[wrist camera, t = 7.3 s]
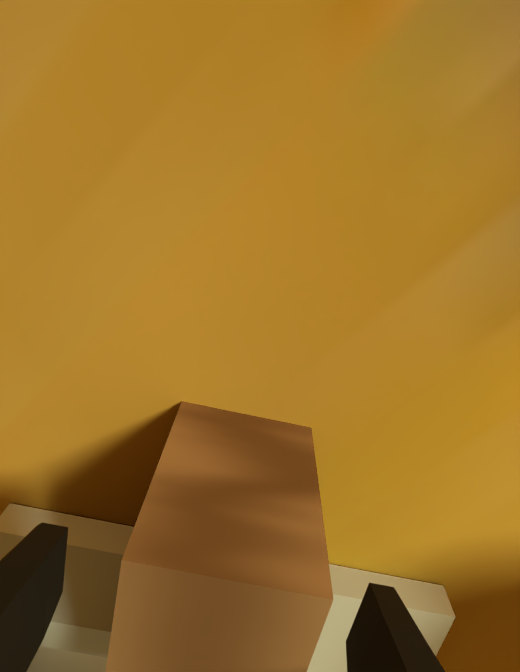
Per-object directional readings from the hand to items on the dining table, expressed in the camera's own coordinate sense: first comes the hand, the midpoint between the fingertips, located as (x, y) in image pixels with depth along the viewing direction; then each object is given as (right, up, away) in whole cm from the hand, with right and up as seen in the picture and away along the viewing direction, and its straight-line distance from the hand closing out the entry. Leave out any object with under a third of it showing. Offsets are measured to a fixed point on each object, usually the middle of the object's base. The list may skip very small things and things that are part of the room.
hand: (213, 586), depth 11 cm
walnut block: (0, +2, +4) cm, 4 cm away
